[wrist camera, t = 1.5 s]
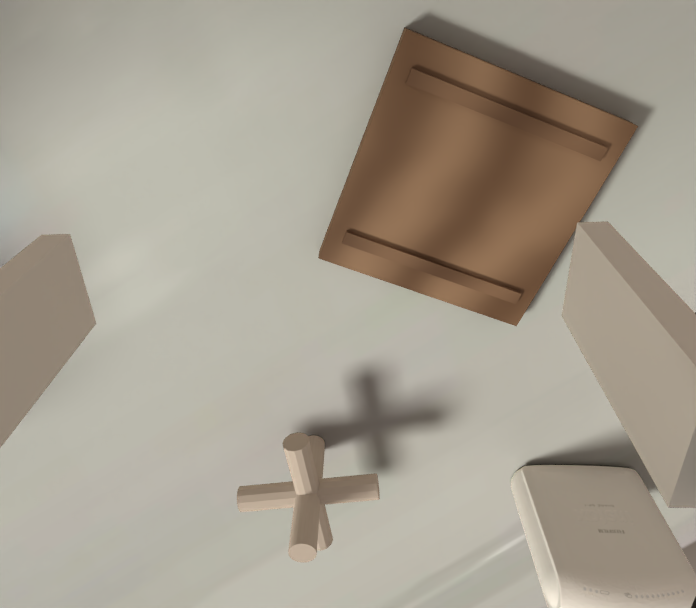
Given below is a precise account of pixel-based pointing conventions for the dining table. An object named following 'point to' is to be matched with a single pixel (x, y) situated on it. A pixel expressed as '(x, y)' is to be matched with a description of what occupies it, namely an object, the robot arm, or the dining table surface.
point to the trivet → (469, 180)
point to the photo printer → (600, 539)
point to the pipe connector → (307, 495)
